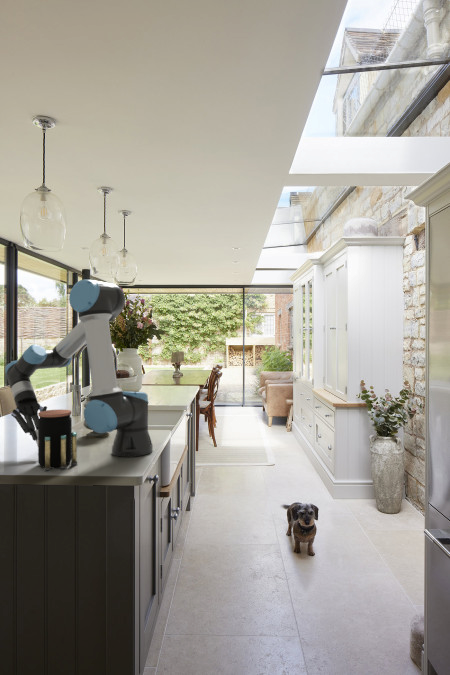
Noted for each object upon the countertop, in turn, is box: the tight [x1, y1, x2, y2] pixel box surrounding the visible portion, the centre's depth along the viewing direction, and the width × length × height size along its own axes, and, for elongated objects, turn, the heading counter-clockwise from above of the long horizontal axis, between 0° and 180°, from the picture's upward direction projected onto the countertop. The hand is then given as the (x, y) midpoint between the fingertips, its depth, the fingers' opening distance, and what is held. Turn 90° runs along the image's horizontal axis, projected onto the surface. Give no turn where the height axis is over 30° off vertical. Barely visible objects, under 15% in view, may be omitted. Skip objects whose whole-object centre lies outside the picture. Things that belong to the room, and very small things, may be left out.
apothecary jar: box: [83, 394, 110, 439], centre depth 194 cm, size 12×12×18 cm
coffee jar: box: [37, 409, 72, 469], centre depth 150 cm, size 11×11×18 cm
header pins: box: [44, 431, 78, 472], centre depth 145 cm, size 4×11×11 cm, turn 135°
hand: (41, 446), depth 156 cm, fingers closed
